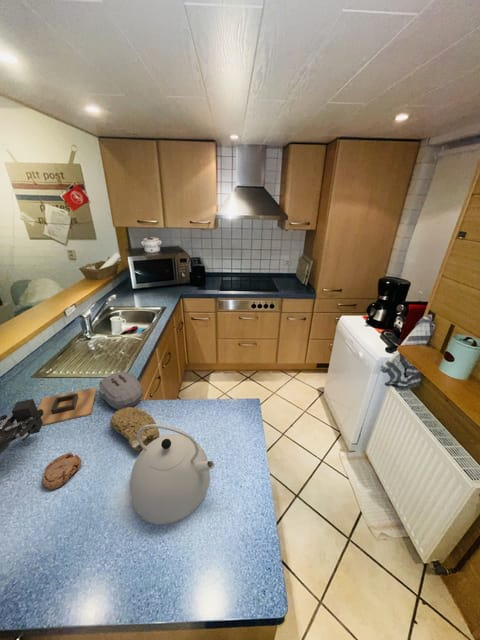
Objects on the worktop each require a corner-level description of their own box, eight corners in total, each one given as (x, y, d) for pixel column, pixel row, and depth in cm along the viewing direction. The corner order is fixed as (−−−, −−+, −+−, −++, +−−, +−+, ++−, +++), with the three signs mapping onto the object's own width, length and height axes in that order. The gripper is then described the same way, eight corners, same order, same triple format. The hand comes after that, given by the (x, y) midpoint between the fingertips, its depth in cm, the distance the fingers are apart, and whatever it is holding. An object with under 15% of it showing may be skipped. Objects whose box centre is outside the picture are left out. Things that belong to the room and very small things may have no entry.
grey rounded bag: (95, 394, 108) (116, 418, 96) (91, 378, 105) (112, 402, 93) (129, 378, 119) (151, 398, 107) (126, 363, 115) (149, 382, 103)
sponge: (165, 441, 89) (143, 401, 101) (160, 431, 84) (138, 390, 96) (128, 466, 83) (110, 420, 95) (121, 456, 78) (102, 409, 90)
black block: (23, 436, 83) (11, 411, 79) (27, 426, 87) (16, 401, 82) (39, 432, 85) (28, 407, 80) (43, 422, 88) (33, 398, 84)
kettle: (225, 455, 83) (224, 404, 73) (202, 536, 63) (197, 479, 53) (156, 441, 87) (147, 391, 78) (114, 512, 67) (94, 456, 58)
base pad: (29, 428, 91) (27, 423, 90) (43, 399, 105) (41, 394, 104) (91, 414, 98) (89, 409, 97) (96, 388, 112) (95, 383, 110)
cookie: (36, 494, 71) (32, 487, 70) (51, 460, 80) (48, 454, 79) (75, 485, 74) (73, 478, 72) (85, 453, 83) (83, 447, 82)
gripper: (-3, 448, 68) (49, 404, 83) (-48, 440, 70) (11, 398, 85) (7, 466, 71) (55, 420, 86) (-36, 458, 73) (19, 415, 88)
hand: (33, 409), depth 85 cm, fingers closed on black block, 6 cm apart
